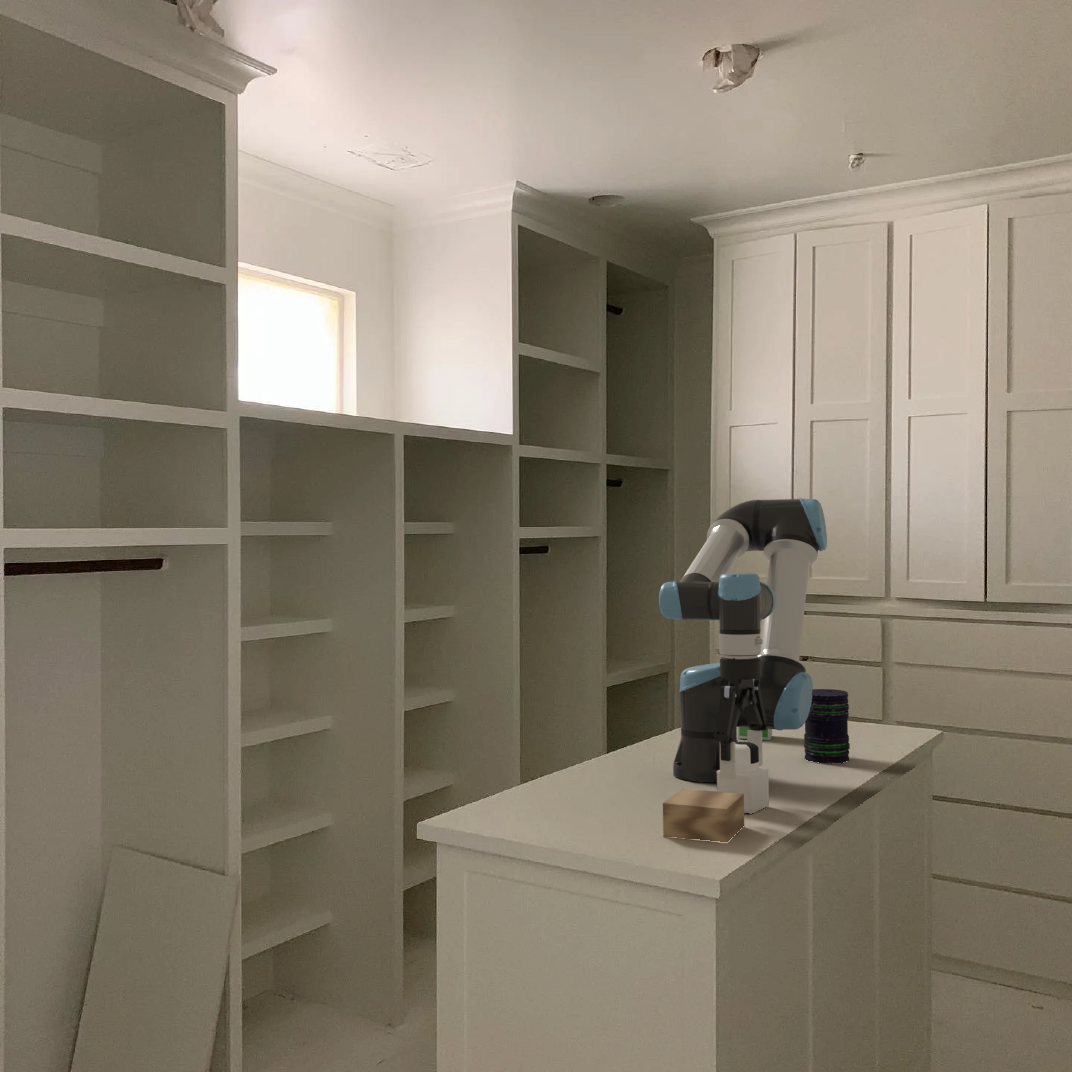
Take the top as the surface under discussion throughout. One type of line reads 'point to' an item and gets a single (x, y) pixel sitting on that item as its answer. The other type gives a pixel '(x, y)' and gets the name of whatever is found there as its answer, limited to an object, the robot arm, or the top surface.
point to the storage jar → (827, 727)
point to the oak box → (703, 815)
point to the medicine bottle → (747, 778)
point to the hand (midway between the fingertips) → (741, 771)
